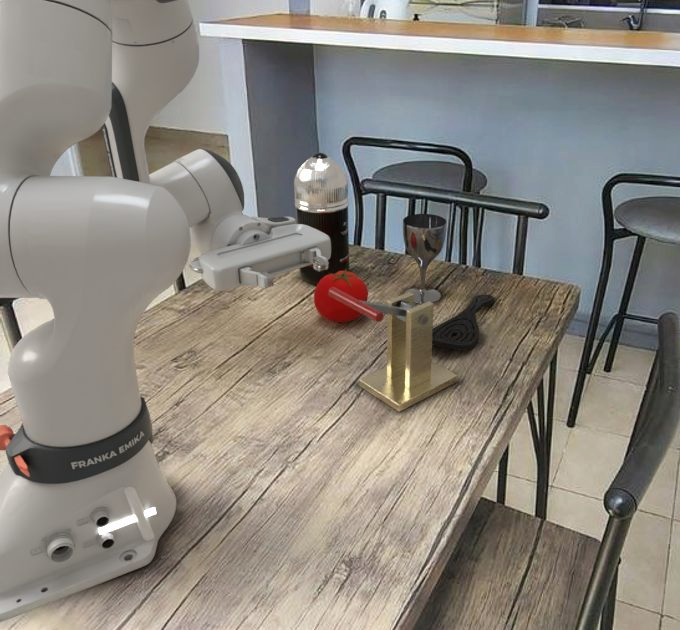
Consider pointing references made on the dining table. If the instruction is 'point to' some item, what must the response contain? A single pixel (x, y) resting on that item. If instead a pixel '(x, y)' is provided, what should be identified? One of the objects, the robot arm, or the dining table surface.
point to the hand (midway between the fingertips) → (297, 273)
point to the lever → (371, 306)
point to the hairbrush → (461, 326)
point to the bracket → (408, 359)
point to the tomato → (333, 307)
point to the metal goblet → (424, 248)
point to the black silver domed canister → (324, 210)
